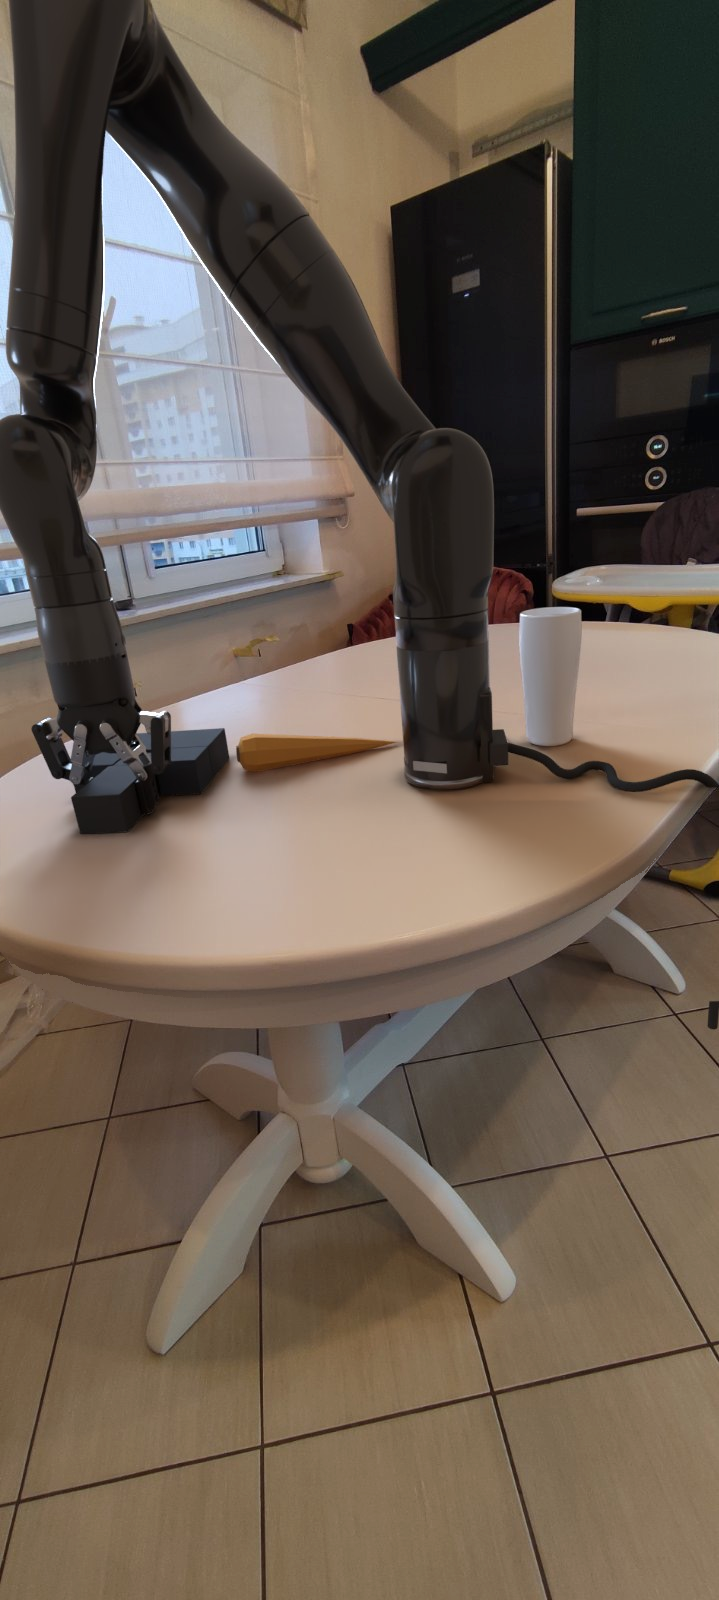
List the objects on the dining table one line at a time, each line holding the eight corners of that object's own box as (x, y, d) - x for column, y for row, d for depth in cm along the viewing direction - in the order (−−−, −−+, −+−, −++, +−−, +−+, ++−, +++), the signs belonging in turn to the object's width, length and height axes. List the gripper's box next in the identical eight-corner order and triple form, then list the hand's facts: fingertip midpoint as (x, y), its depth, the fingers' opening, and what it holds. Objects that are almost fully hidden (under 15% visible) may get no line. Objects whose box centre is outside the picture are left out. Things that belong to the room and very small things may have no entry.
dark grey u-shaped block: (229, 758, 90) (224, 727, 89) (201, 794, 79) (194, 759, 78) (123, 764, 92) (116, 734, 91) (80, 800, 81) (72, 766, 80)
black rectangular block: (171, 784, 83) (164, 751, 82) (128, 832, 71) (119, 794, 70) (130, 786, 84) (122, 754, 82) (80, 834, 72) (70, 797, 70)
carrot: (239, 781, 84) (240, 750, 81) (234, 756, 87) (234, 726, 84) (402, 767, 90) (407, 738, 87) (391, 745, 93) (396, 716, 90)
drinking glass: (581, 749, 82) (584, 613, 76) (519, 750, 83) (518, 617, 78) (576, 731, 88) (579, 605, 82) (519, 732, 89) (519, 608, 84)
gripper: (-7, 664, 67) (39, 830, 73) (142, 653, 65) (176, 824, 71) (34, 649, 74) (73, 802, 80) (170, 638, 72) (198, 796, 78)
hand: (121, 811), depth 76 cm, fingers open, 5 cm apart
